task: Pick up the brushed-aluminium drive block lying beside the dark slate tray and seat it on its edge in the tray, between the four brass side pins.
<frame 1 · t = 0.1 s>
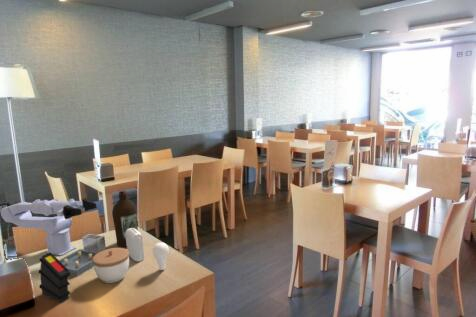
hand: (88, 208, 136), 22 cm above the table, tool horizontal, fingers open, 7 cm apart
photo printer: (135, 257, 139), on the table
tray: (79, 264, 134), on the table
magazine: (57, 297, 112), on the table
drive: (94, 249, 148), on the table
lidded bowl: (113, 278, 123), on the table
olive oil: (127, 243, 153), on the table
lightbulb: (162, 270, 128), on the table
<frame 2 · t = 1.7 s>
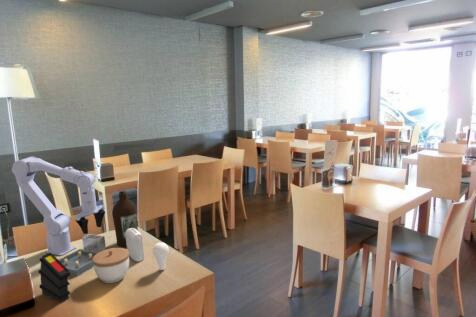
hand: (92, 230, 146), 9 cm above the table, tool pointing down, fingers open, 7 cm apart
nothing on the table moved.
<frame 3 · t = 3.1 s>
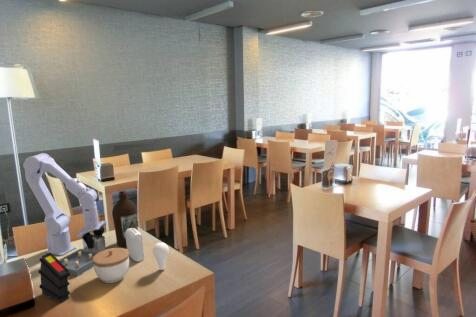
hand: (94, 246, 147), 1 cm above the table, tool pointing down, fingers closed on drive, 4 cm apart
drive: (94, 249, 148), on the table, touching gripper
everything else where it was.
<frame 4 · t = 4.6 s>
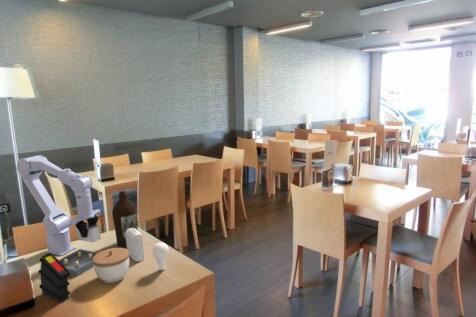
hand: (88, 235, 142), 8 cm above the table, tool pointing down, fingers closed on drive, 4 cm apart
drive: (89, 239, 143), point 7 cm above the table, touching gripper
everything else where it was.
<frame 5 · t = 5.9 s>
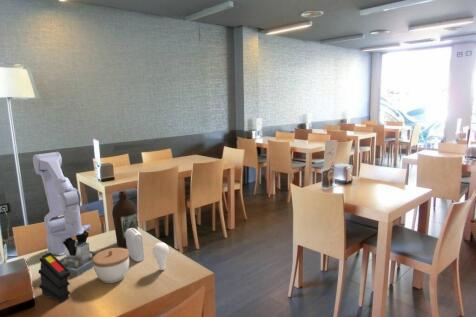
hand: (77, 252, 133), 5 cm above the table, tool pointing down, fingers closed on drive, 4 cm apart
drive: (78, 257, 133), point 3 cm above the table, touching gripper
everything else where it was.
when the fingers open (4 cm above the table, at t = 6.6 s): drive stays where it is, resting on tray.
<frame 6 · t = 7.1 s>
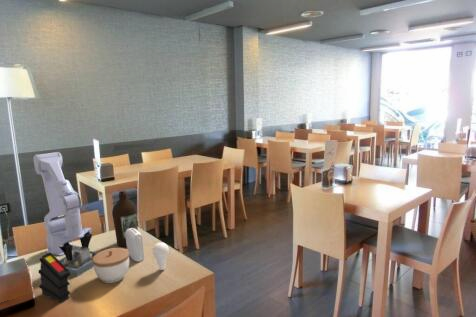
hand: (77, 255, 133), 4 cm above the table, tool pointing down, fingers open, 7 cm apart
drive: (78, 262, 134), point 1 cm above the table, touching tray
everything else where it was.
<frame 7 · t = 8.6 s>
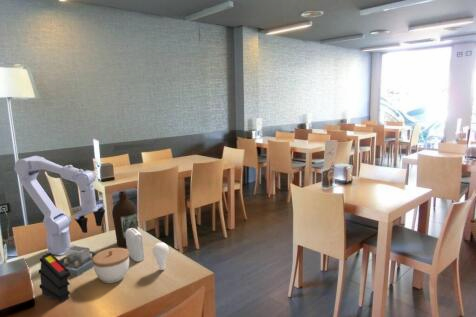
hand: (92, 229, 144), 10 cm above the table, tool pointing down, fingers open, 7 cm apart
nothing on the table moved.
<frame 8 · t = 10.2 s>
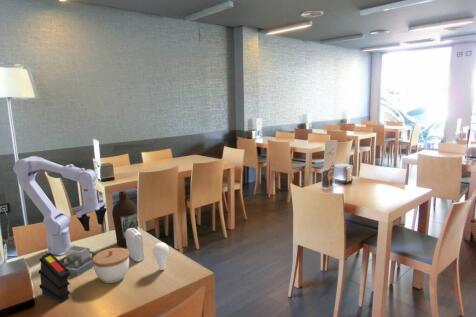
hand: (94, 227, 145), 10 cm above the table, tool pointing down, fingers open, 7 cm apart
nothing on the table moved.
at the end: drive 0.1 cm off-centre on the tray, point 1.0 cm above the tray's base; drive tilted 0°; the gripper is holding nothing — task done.
